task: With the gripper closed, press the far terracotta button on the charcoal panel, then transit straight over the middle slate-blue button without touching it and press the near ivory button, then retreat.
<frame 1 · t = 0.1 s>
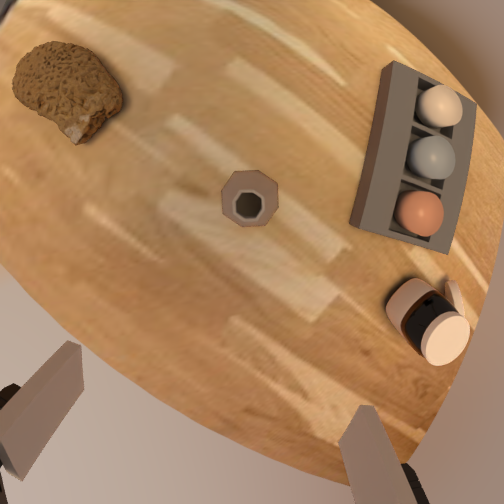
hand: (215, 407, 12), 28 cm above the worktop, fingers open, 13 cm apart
button ivory: (438, 107, 30), point 5 cm above the worktop, slide at 0.0 cm
flask: (250, 198, 38), on the worktop
sponge: (71, 90, 35), on the worktop
panel: (413, 158, 36), on the worktop
button terracotta: (418, 212, 34), point 5 cm above the worktop, slide at 0.0 cm
button slate: (430, 157, 32), point 5 cm above the worktop, slide at 0.0 cm
spread jar: (420, 300, 41), on the worktop
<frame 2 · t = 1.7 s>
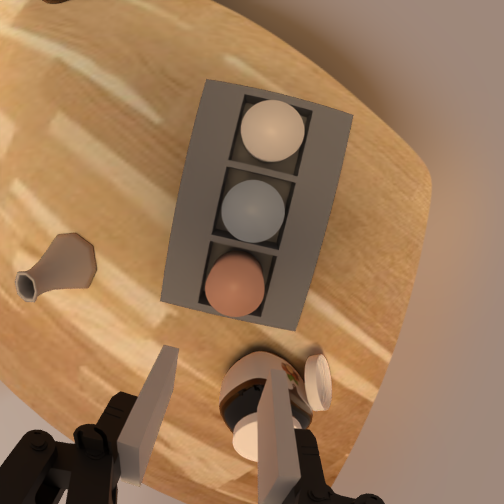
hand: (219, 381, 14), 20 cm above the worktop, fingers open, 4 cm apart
button ivory: (271, 133, 26), point 5 cm above the worktop, slide at 0.0 cm
flask: (74, 260, 34), on the worktop
panel: (253, 204, 32), on the worktop
button terracotta: (235, 282, 29), point 5 cm above the worktop, slide at 0.0 cm
button slate: (253, 209, 27), point 5 cm above the worktop, slide at 0.0 cm
spread jar: (280, 371, 37), on the worktop
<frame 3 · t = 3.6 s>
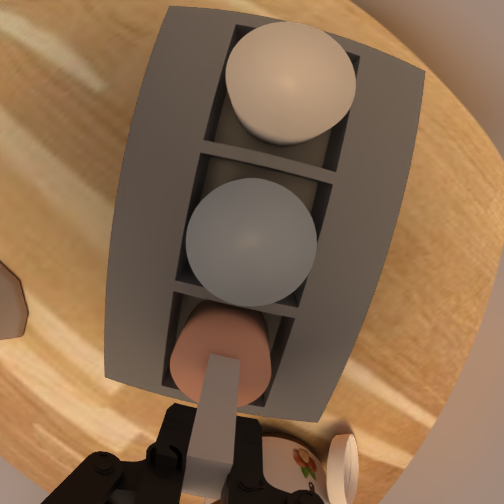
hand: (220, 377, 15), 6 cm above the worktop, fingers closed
button ivory: (287, 88, 13), point 5 cm above the worktop, slide at 0.0 cm
flask: (3, 297, 20), on the worktop
panel: (252, 221, 19), on the worktop
button terracotta: (223, 352, 17), point 4 cm above the worktop, slide at -1.1 cm, touching gripper
button slate: (251, 235, 14), point 5 cm above the worktop, slide at 0.0 cm
spread jar: (290, 449, 24), on the worktop
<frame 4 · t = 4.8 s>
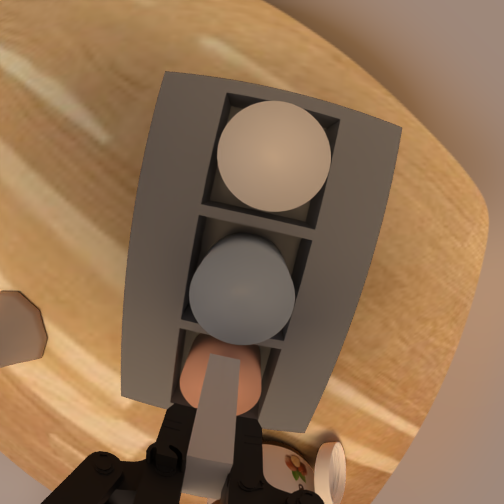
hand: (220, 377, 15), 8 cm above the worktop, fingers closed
button ivory: (272, 158, 16), point 5 cm above the worktop, slide at 0.0 cm
flask: (22, 323, 23), on the worktop
panel: (245, 263, 22), on the worktop
button terracotta: (222, 371, 20), point 3 cm above the worktop, slide at -1.6 cm
button slate: (243, 285, 17), point 5 cm above the worktop, slide at 0.0 cm
spread jar: (283, 455, 26), on the worktop
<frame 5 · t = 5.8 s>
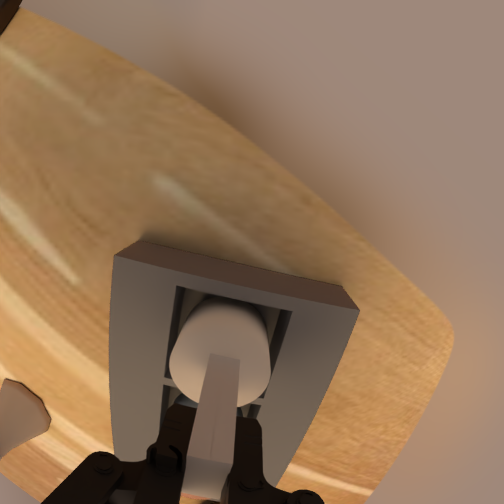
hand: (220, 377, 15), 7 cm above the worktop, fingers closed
button ivory: (222, 352, 17), point 4 cm above the worktop, slide at -0.2 cm, touching gripper
flask: (27, 403, 25), on the worktop
panel: (211, 393, 23), on the worktop
button terracotta: (195, 468, 21), point 3 cm above the worktop, slide at -1.6 cm
button slate: (203, 433, 18), point 5 cm above the worktop, slide at 0.0 cm
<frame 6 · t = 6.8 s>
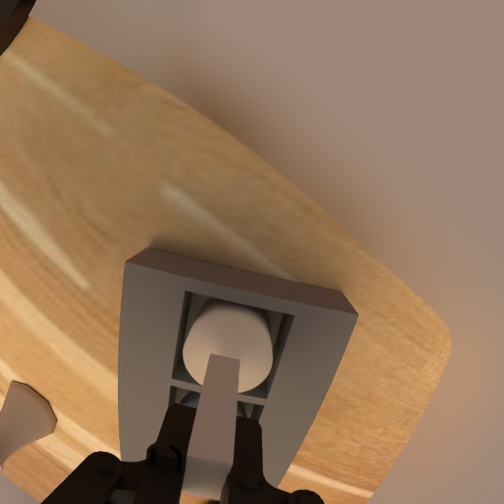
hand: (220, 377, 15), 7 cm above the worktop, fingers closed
button ivory: (229, 342, 19), point 3 cm above the worktop, slide at -1.6 cm
flask: (34, 405, 25), on the worktop
panel: (215, 395, 24), on the worktop
button terracotta: (199, 468, 22), point 3 cm above the worktop, slide at -1.6 cm
button slate: (209, 433, 19), point 5 cm above the worktop, slide at 0.0 cm
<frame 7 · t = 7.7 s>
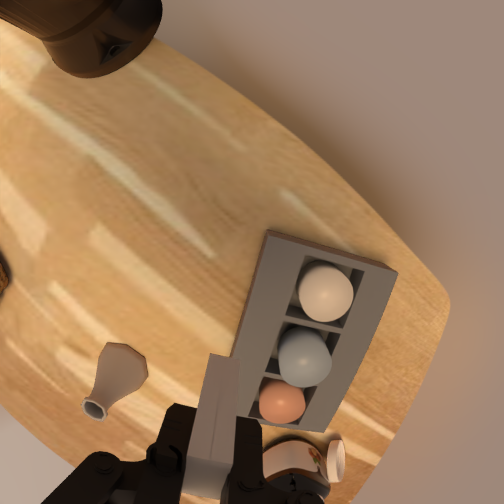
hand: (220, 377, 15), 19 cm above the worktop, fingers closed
button ivory: (323, 290, 31), point 3 cm above the worktop, slide at -1.6 cm
flask: (124, 364, 37), on the worktop
panel: (297, 336, 35), on the worktop
button terracotta: (281, 397, 34), point 3 cm above the worktop, slide at -1.6 cm
button slate: (303, 356, 31), point 5 cm above the worktop, slide at 0.0 cm
spread jar: (304, 449, 40), on the worktop
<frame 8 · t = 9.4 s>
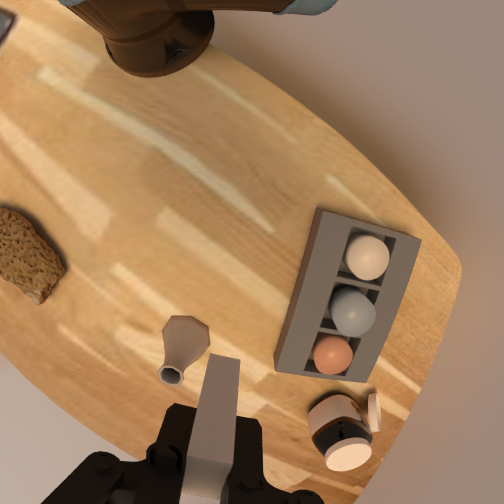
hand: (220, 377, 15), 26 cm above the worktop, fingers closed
button ivory: (364, 255, 37), point 3 cm above the worktop, slide at -1.6 cm
flask: (186, 336, 44), on the worktop
sponge: (22, 245, 41), on the worktop
panel: (342, 297, 42), on the worktop
button terracotta: (331, 351, 40), point 3 cm above the worktop, slide at -1.6 cm
button slate: (351, 311, 37), point 5 cm above the worktop, slide at 0.0 cm
spread jar: (345, 404, 47), on the worktop
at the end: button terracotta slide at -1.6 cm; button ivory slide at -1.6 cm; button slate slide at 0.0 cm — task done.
